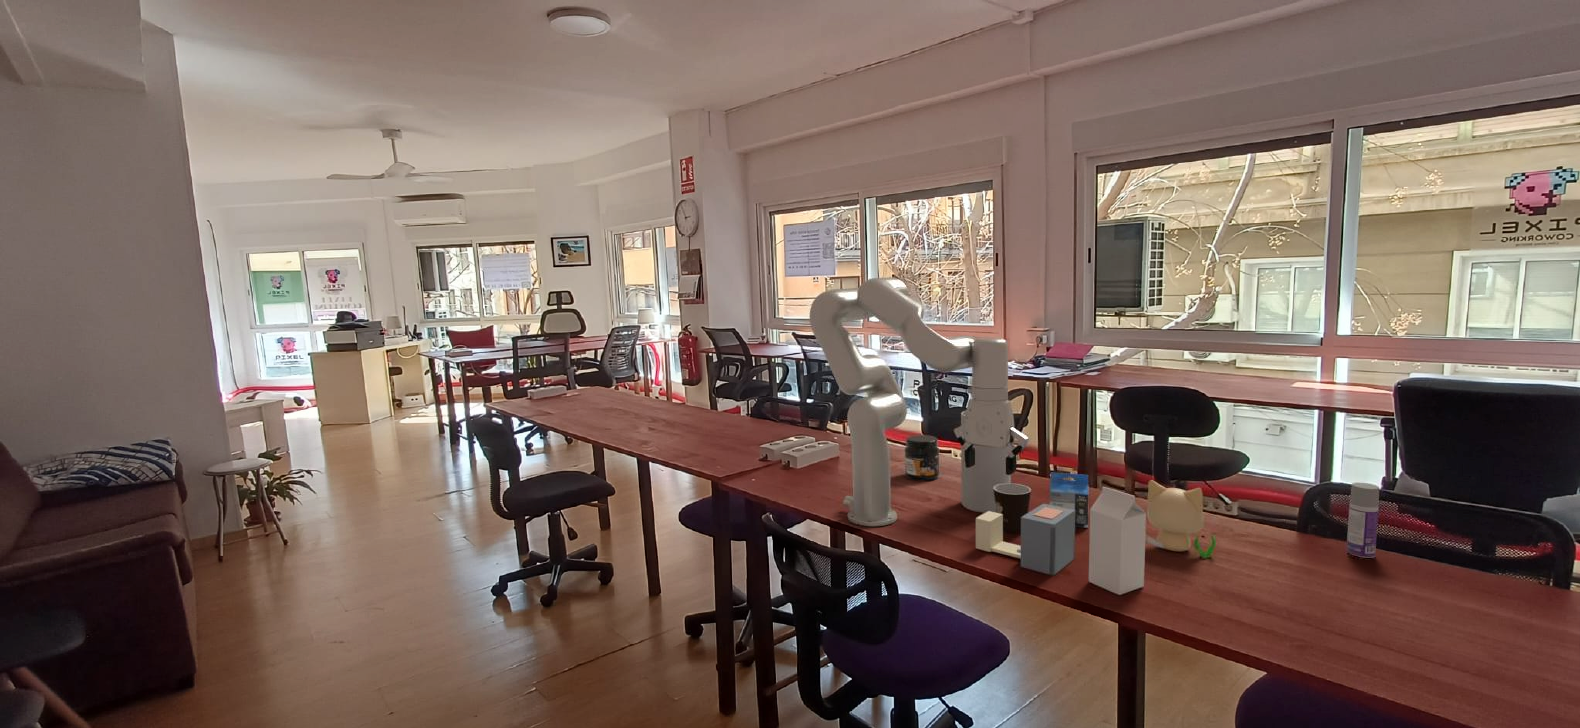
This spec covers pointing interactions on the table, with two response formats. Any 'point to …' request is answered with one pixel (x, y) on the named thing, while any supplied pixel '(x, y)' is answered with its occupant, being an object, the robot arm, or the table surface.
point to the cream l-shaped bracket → (993, 535)
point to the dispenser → (1047, 539)
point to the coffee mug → (1012, 505)
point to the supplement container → (921, 457)
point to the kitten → (1176, 517)
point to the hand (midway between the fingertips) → (990, 470)
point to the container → (1363, 520)
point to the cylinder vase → (982, 476)
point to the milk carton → (1117, 542)
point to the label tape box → (1071, 495)
